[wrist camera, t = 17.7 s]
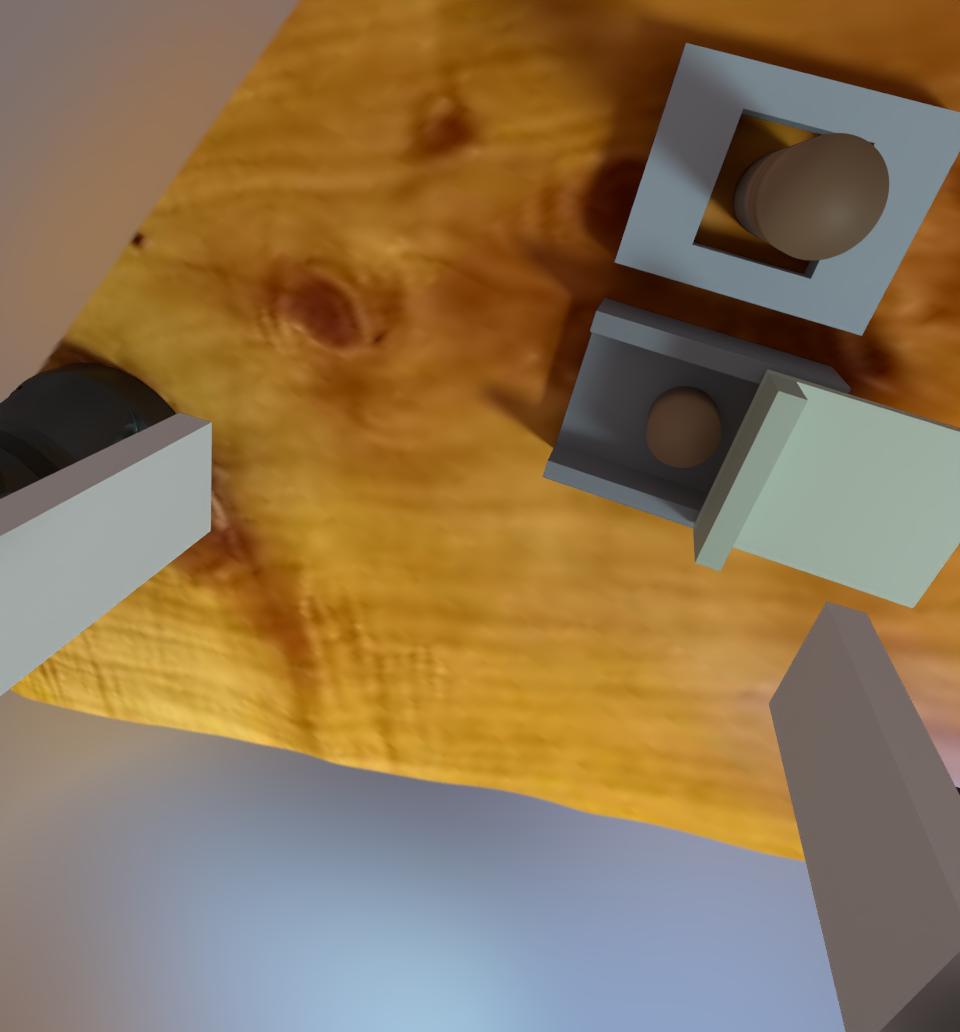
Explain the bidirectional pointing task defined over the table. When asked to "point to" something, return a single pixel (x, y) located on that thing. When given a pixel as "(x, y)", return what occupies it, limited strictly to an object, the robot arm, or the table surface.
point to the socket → (807, 106)
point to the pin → (814, 196)
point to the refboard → (662, 409)
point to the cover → (836, 490)
